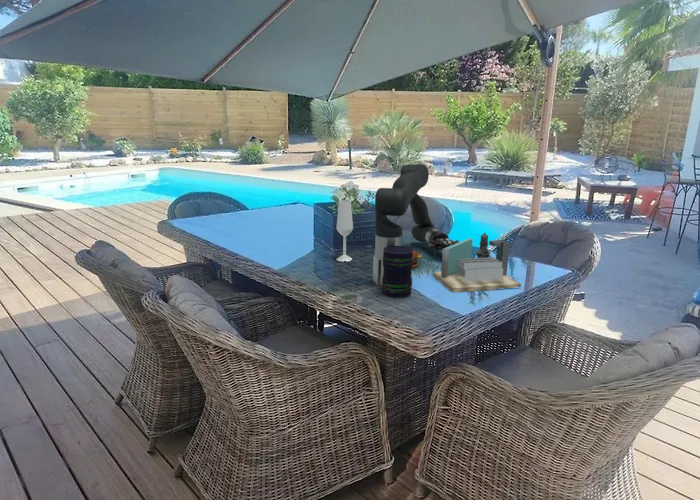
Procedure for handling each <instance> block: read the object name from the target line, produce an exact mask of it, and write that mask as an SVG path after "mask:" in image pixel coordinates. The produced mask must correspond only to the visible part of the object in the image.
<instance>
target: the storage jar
mask: <svg viewBox="0 0 700 500" xmlns="http://www.w3.org/2000/svg"><path fill="white" fill-rule="evenodd" d="M413 250H414V249H413V248H412V247H410V246H404V245H402V246H388V247H385V248H384V249H383V252H384V253H383V266H384V270H383V277H382V286H381V288H382V290H381V293H382V295H383V296H385V297H387V298H393V299H405V298H408V297H410V296H411V295H412V287H413V277H412V272H413V270H412V266H413Z"/></svg>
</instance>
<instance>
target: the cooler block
mask: <svg viewBox="0 0 700 500" xmlns="http://www.w3.org/2000/svg"><path fill="white" fill-rule="evenodd" d="M488 243H489V244H488V245H490V246H491V247H493V248H494V247H496V252H495V253H496V255H495V256H494V257H488V258H478V257H474V258H471V259H457V264H456V269H455V278H456V279H458V280H459V281H460V282H462V283H463V284H481V283H497V282H502V278H503V275H507V274H508V263H509V251H510V242H508V241H506V240H504V239H501V240H500V239H498V240H496V239H495V240H488ZM507 276H508V275H507Z"/></svg>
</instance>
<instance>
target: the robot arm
mask: <svg viewBox="0 0 700 500" xmlns="http://www.w3.org/2000/svg"><path fill="white" fill-rule="evenodd" d="M429 174H430V173H429V169H428V167H427V166H426V164H423V163H417V164H416V163H415V164H414V163H413V164H411V163H410V164H404V165H402V166H401V168H400V176H398V177H397V178H396V179H395V180H394V182H393V184H392V186H391V187H379V188H378V189H377V191H376V192H375V196H374V210H375V211H374V212H375V213H374V214H375V220H374V221H375V222H374V224H375V226H374V227H375V242H374V243H375V244H374V245H375V247H374V250H375V251H374V254H373V258H372V259H373V260H372V281H373V282H374V284H375V285H376V286H379V287H380V286H381V287H382V277H383V270H384V266H383V253H384V252H383V249H384V248H385V247H388V246H403V232H404V231H403V227H402V226H401V225H399V224H397V223H395V222H393V221H391V220H390V219H389V218H388V216H391V217H401V216H403V215H405V213H407V210H408V208H409V206H410V209H411V214H412V219H413V220H412V221H413V222H414V223H415V224H416V225H414V226H413V227H412V229H411V235H412V237H413V239H415V240H416V241H418V242H421V243H427V244H428V246H429V248H430V249H435V250H437V251H443V248H446V247H449V246H451V245H454V244H456V243H459V242H460V240H454V241H453V239H450V238H449V236H448V234H447V233H445V232H443V231H442V230H440V229H437V228H436V226H435V225H434V223H433V222H432V220H431V217H430V214H429V209H428V205H427V203H426V201H425V200H424V199H423V198H422V197H421V196H420V195H419V194H418V192H419V191H420V190H421V189H422V188H423V187H425V186H427V183H428V181H429V177H430V175H429Z"/></svg>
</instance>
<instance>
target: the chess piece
mask: <svg viewBox="0 0 700 500" xmlns="http://www.w3.org/2000/svg"><path fill="white" fill-rule="evenodd" d="M488 245H490V244H489V235H487V233H486V232H484V233H483V234H481V235H480V242H479V248H478V250H476V251H475V254H476V258H490V256H491V252H490V251H488V250H489V249H488V247H489V246H488Z"/></svg>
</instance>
